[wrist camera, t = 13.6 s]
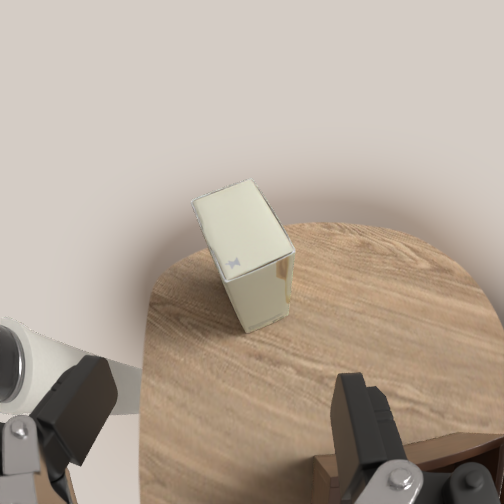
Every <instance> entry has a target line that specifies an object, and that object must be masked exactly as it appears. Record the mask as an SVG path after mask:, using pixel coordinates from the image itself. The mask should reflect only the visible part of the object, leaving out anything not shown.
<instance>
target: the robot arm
mask: <svg viewBox="0 0 504 504" xmlns="http://www.w3.org/2000/svg"><path fill="white" fill-rule="evenodd" d="M24 377H25V355H24V350H23V347H22V344H21V341H20V339H19V337H18V336H17V334H16V333H15V332H14V331H13V330H11V329H10V328H8V327H5V326H3V325H0V403H9V402H11V401H13V400H14V399H15V398H16V397H17V396H18V394H19V392H20V391H21V388H22V385H23V382H24ZM117 396H118V392H117V387H116V384H115V382H114V379H113V376H112V373H111V370H110V367H109V364H108V361H107V360H106V359H105V358H103V357H97V356H92V355H85V356H84V357H83V358H82V359H81V360H80V361H79V363H78V364H77V365H74V366H72V367H71V368H69V369H68V370H66V371H65V372H63V374H62V375H61V376H60V377H59V378H58V380H57V381H56V383H54V385H53V386H52V387H51V390H49V391H48V392H47V393H46V394H45V396H44V397H43V398H42V400H41V401H40V402H39V403H38V405H37V406H36V407H35V408H34V410H33V411H32V412H31V414H30V415H29V416H26V415H18V416H15V417H13V418H11V419H9V420H8V421H7V422H6V423H1V422H0V504H78V503H77V500H76V496H75V493H74V489H73V485H72V481H71V477H70V473H69V470H68V468H67V465H68V464H69V462H71V463H73V464H76V465H78V466H82V464H83V462H84V460H85V458H86V456H87V454H88V452H89V451H90V449H91V447H92V445H93V443H94V441H95V440H96V438H97V436H98V434H99V432H100V430H101V429H102V427H103V425H104V423H105V422H106V420H107V418H108V416H109V415H110V413H111V411H112V409H113V408H114V406H115V404H116V401H117ZM330 417H331V426H332V433H333V440H334V447H335V454H336V462H337V469H338V477H339V485H340V494H341V500H350V499H351V500H352V504H501V502H500V499H499V496H498V493H497V490H496V488H495V485H494V482H493V479H492V477H491V474H490V472H489V471H488V469H487V468H486V467H485V466H483V465H481V464H479V463H475V462H468V463H464V464H462V465H460V466H459V467H457V468H456V469H455V471H454V472H453V473H431V472H425V471H422V470H420V469H419V467H418V466H417V465H415V464H414V463H412V462H410V461H409V460H408V459H407V456H406V454H405V451H404V448H403V445H402V441H401V438H400V435H399V432H398V430H397V427H396V424H395V421H394V420H393V415H392V412H391V411H390V407H389V404H388V401H387V398H386V396H385V395H384V394H383V393H382V392H381V391H380V390H379V389H378V388H377V387H376V386H374V387H366V385H365V381H364V378H363V375H362V373H360V372H358V373H340V374H338V375H337V379H336V384H335V389H334V394H333V399H332V403H331V412H330Z"/></svg>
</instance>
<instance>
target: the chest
mask: <svg viewBox="0 0 504 504" xmlns="http://www.w3.org/2000/svg"><path fill="white" fill-rule="evenodd" d="M403 448H404V451H405V454H406V456H407V459H408V460H409V461H410V462H412V463H414V464H415V465H417V466H418V467H419V469H420V470H422V471H425V472H431V473H453V472H454V471H455V469H456V468H457V467H459V466H460V465H462V464H464V463H468V462H475V463H479V464H481V465H483V466H485V467H486V468H487V469H488V471H489V472H490V474H491V477H492V479H493V482H494V485H495V488H496V490H497V493H498V496H500V491H501V485H502V479H503V472H504V434H481V433H464V432H457V433H453V434H450V435H446V436H442V437H438V438H434V439H430V440H426V441H421V442H417V443H412V444H407V445H403ZM311 504H352V500H351V499H350V500H341V494H340V485H339V477H338V469H337V462H336V454H332V455H315V456H314V470H313V485H312V499H311Z"/></svg>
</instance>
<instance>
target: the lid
mask: <svg viewBox="0 0 504 504" xmlns="http://www.w3.org/2000/svg"><path fill="white" fill-rule="evenodd" d="M499 499H500V502H501V504H504V475H503V482H502V488H501V493H500V498H499Z"/></svg>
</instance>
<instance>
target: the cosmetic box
mask: <svg viewBox="0 0 504 504" xmlns="http://www.w3.org/2000/svg"><path fill="white" fill-rule="evenodd" d="M191 205H192V207H193V210H194V213H195V215H196V218H197V220H198V223H199V226H200V228H201V231H202V233H203V236H204V238H205V241H206V243H207V246H208V249H209V251H210V254H211V256H212V258H213V261H214V263H215V266H216V268H217V270H218V273H219V275H220V278H221V280H222V283H223V285H224V287H225V289H226V292H227V294H228V297H229V299H230V301H231V304H232V306H233V308H234V310H235V312H236V315H237V317H238V319H239V321H240V323H241V325H242V327H243V329H244V331H245V333H250V332H253V331H255V330H258V329H260V328H263V327H265V326H267V325H270V324H272V323H274V322H276V321H278V320H280V319H282V318H284V317H286V316H288V313H289V305H290V295H291V286H292V277H293V268H294V259H295V248H294V246H293V244H292V242H291V240H290V238H289V236H288V234H287V233H286V231H285V229H284V227H283V225H282V224H281V222H280V220H279V219H278V217H277V216H276V214H275V212H274V211H273V209H272V208H271V206H270V204H269V202H268V201H267V199H266V198H265V196H264V195H263V193H262V192H261V190H260V189H259V187H258V186H257V184H256V183H255V181H254V180H253V179H252V178H249V179H246V180H243V181H241V182H238V183H235V184H232V185H229V186H226V187H223V188H221V189H218V190H215V191H213V192H210V193H207V194H205V195H202V196H200V197H197V198H194V199H193V200H192V201H191Z"/></svg>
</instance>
